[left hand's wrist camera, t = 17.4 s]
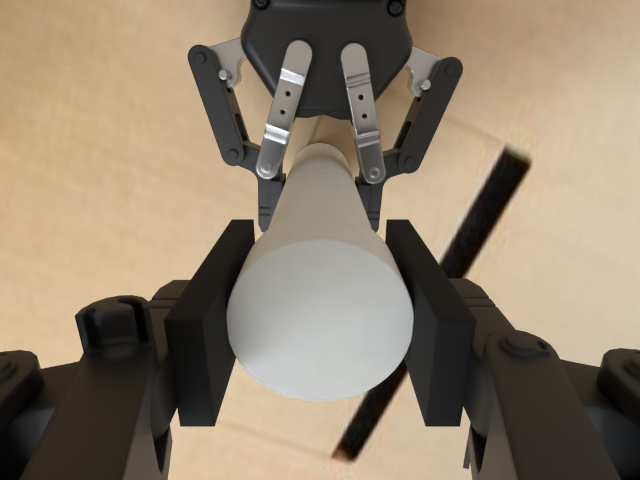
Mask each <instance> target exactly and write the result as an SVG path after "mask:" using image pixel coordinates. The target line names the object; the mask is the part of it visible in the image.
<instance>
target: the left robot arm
mask: <svg viewBox="0 0 640 480" xmlns="http://www.w3.org/2000/svg"><path fill="white" fill-rule="evenodd" d="M254 244H255V236H254V220H231V222H230V223H229V225H228V226H227V228H226V229H225V231H224V232H223V233H222V235H221V236H220V238H219V239H218V241H217V242H216V244H215V245H214V247H213V248H212V250H211V251H210V253H209V254H208V256H207V257H206V258H205V260H204V261H203V263H202V264H201V266H200V267H199V269H198V270H197V272H196V273H195V275H194V276H193V278H192V279H191V280H173V281H171V282H170V283H168V284H166V285H165V286H163V287H161V288H160V289H159V290H158V291H157V292H156V294H155V295H154V296H153V297H152V300H150V301H149V302H148V301H147V300H146V299H144V298H143V297H138V296H134V295H125V296H115V297H110V298H105V299H102V300H100V301H97V302H94V303H92V304H90V305H88V306H86V307H84V308H83V309H81V310H80V311H79V312H78V313H77V314H76V315H75V319H76V323H77V327H78V331H79V335H80V339H81V343H82V347H83V351H84V353H83V355H82V357H81V359H80V361H78V362H74V363H70V364H64V365H59V366H54V367H49V368H44V369H41V368H40V365H39V361H38V358H37V356H36V355H35V354H33V353H32V352H30V351H23V350H16V351H5V352H0V480H168V472H169V464H170V456H171V448H172V435H171V429H170V422H171V420H172V418H173V416H174V413H175V411H176V409H177V408H178V414H179V421H180V426H215V423H216V420H217V417H218V414H219V411H220V407H221V404H222V401H223V398H224V395H225V391H226V388H227V385H228V382H229V379H230V375H231V372H232V369H233V366H234V363H235V360H236V356H235V354H234V352H233V350H232V348H231V345H230V343H229V338H228V328H227V317H226V310H227V305H228V300H229V298H230V295H231V292H232V290H233V287H234V285H235V283H236V281H237V278H238V276H239V274H240V271H241V269H242V267H243V265H244V262H245V260H246V258H247V256H248V254H249V252H250V250H251V248H252V246H253V245H254ZM385 244H386V245H387V246H388V248H389V250H390V252H391V254H392V256H393V258H394V260H395V262H396V265H397V267H398V269H399V272H400V274H401V276H402V278H403V281H404V283H405V285H406V287H407V290H408V292H409V295H410V298H411V301H412V305H413V310H414V320H413V331H412V339H411V343H410V345H409V348H408V350H407V352H406V354H405V356H404V359H405V362H406V365H407V368H408V371H409V375H410V378H411V381H412V384H413V387H414V391H415V394H416V397H417V400H418V403H419V407H420V410H421V413H422V416H423V419H424V422H425V426H460V422H461V416H462V410H463V406H464V408H465V411H466V413H467V415H468V417H469V420H470V422H471V423H470V429H469V435H468V441H467V447H466V453H465V458H464V465H463V468H467V469H469V464H470V463H471V471H472V479H473V480H640V350H635V349H634V350H632V349H623V348H619V349H612V350H609V351H608V352H606V353H605V354H604V356H603V359H602V362H601V366H600V367H596V366H590V365H585V364H580V363H575V362H570V361H565V360H561V359H560V358H559V356H558V354H557V353H556V351H555V350H554V349H553V348H552V346H551V345H550V344H549V343H547V342H546V341H544V340H543V339H541V338H540V337H537V336H535V335H532V334H530V333H527V332H524V331H519V330H515V328H514V327H513V326H512V325H511V324H510V322H509V321H508V320H507V319H506V317H505V316H504V315H503V314H502V312H501V311H500V310H499V309H498V308H497V307H495V304H494V303H493V301H492V300H491V299H489V297H488V295H487V294H486V293H485V292H484V290H483V289H482V288H481V287H480V286H478V285H476V284H475V283H473V282H471V281H470V280H468V279H448V277H447V276H446V274H445V273H444V271H443V270H442V268H441V267H440V265H439V264H438V262H437V261H436V260H435V258H434V257H433V255H432V254H431V252H430V251H429V249H428V248H427V246H426V245H425V243H424V242H423V240H422V239H421V238H420V236H419V235H418V233H417V232H416V230H415V229H414V227H413V226H412V224H411V223H410V221H409V220H387V224H386V240H385Z"/></svg>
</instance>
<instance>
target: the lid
mask: <svg viewBox="0 0 640 480" xmlns="http://www.w3.org/2000/svg"><path fill="white" fill-rule="evenodd" d="M226 317H227V328H228V338H229V343H230V345H231V348H232V350H233V352H234V354H235V356H236V358H237V359H238V361H239V362H240V364H241V365H242V366H243V368H244V369H245V370H246V371H247V372H248V373H249V374H250V375H251V376H252V377H253V378H254V379H256V380H257V381H258V382H260V383H261V384H262V385H264V386H265V387H267V388H269V389H271V390H272V391H275V392H277V393H279V394H281V395H284V396H287V397H291V398H294V399H299V400H304V401H314V402H326V401H335V400H341V399H346V398H350V397H353V396H356V395H359V394H361V393H363V392H365V391H367V390H370V389H371V388H373V387H374V386H376V385H378V384H379V383H381V382H382V381H383V380H384V379H386V378H387V377H388V376H389V375H390V374H391V373H392V372H393V371H394V370H395V369H396V368H397V366H398V365H399V364H400V362H401V361H402V359H403V358H404V356H405V354H406V352H407V350H408V348H409V345H410V343H411V339H412V331H413V320H414V310H413V305H412V301H411V298H410V295H409V292H408V290H407V287H406V285H405V283H404V281H403V278H402V276H401V274H400V272H399V269H398V267H397V265H396V262H395V260H394V258H393V256H392V254H391V252H390V250H389V248H388V246H387V245H386V244H385V242H384V241H383V240H382V239H381V237H379V236H378V235H377V234H376V233H375V232H374V231H373V230H372V229H370V228H369V227H368V226H366V225H365V224H363V223H361V222H359V221H358V220H356V219H353V218H351V217H348V216H345V215H341V214H337V213H330V212H310V213H303V214H299V215H295V216H292V217H289V218H287V219H284V220H282V221H280V222H279V223H277V224H275V225H273V226H272V227H271V228H270V229H268V230H267V231H266V232H265V233H264V234H263V235H262V236H261V237H260V238H259V239H258V240H257V241H256V242H255V244H254V245H253V246H252V248H251V250H250V252H249V254H248V256H247V258H246V260H245V262H244V265H243V267H242V269H241V271H240V274H239V276H238V278H237V281H236V283H235V285H234V287H233V290H232V292H231V295H230V298H229V300H228V305H227V310H226Z"/></svg>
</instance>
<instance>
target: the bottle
mask: <svg viewBox="0 0 640 480" xmlns="http://www.w3.org/2000/svg"><path fill="white" fill-rule="evenodd" d="M310 212H330V213H337V214H341V215H345V216H348V217H351V218H353V219H356V220H358V221H359V222H361V223H363V224H365V225H366V226H368V227H369V228H370V229H372V228H371V225H370V223H369V220H368V217H367V215H366V212H365V209H364V207H363V204H362V201H361V199H360V196H359V193H358V191H357V188H356V185H355V183H354V180H353V177H352V174H351V172H350V169H349V166H348V164H347V161H346V159H345V157H344V155H343V154H342V153H341V152H340V151H339V150H338V149H337V148H335V147H334V146H332V145H329V144H325V143H315V144H311V145H308V146H306V147H305V148H303V149H302V150H301V151H300V152H299V153H298V154H297V155H296V157H295V159H294V161H293V164H292V166H291V169H290V172H289V174H288V177H287V180H286V182H285V185H284V188H283V190H282V193H281V196H280V198H279V201H278V204H277V207H276V209H275V212H274V215H273V217H272V220H271V223H270V225H269V228H268V229H270V228H271V227H272V226H273V225H275V224H277V223H279V222H280V221H282V220H284V219H287V218H289V217H292V216H295V215H299V214H303V213H310Z"/></svg>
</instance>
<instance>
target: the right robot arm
mask: <svg viewBox="0 0 640 480" xmlns="http://www.w3.org/2000/svg"><path fill="white" fill-rule="evenodd" d="M406 2H407V0H251V5H250V11H249V15H248V18H247V20H246V22H245V24H244V26H243V28H242V31H241V37H240V38H236V39H233V40H230V41H227V42H223V43H220V44H217V45H213V46H210V47H208V46H203V45H195V46H193V47H192V48H191V49H190V50H189V53H188V61H189V64H190V67H191V70H192V73H193V76H194V78H195V81H196V84H197V87H198V90H199V93H200V95H201V98H202V101H203V104H204V107H205V110H206V113H207V115H208V118H209V121H210V124H211V127H212V130H213V133H214V135H215V138H216V141H217V144H218V147H219V150H220V152H221V155H222V158H223V160H224V161H225V162H226V163H227V164H228V165H231V166H237V165H238V166H241V167H243V168H245V169H248V170H250V171H252V172H253V173H254V174H255V175H256V177H257V179H258V206H259V208H258V213H259V215H258V221H259V226H260V228H261V231H262V232H266V231H267V230H268V228H269V225H270V223H271V220H272V217H273V215H274V212H275V209H276V207H277V204H278V201H279V198H280V196H281V193H282V190H283V188H284V185H285V182H286V174H285V173H282V165H283V158H284V155H285V152H286V149H287V145H288V142H289V139H290V136H291V133H292V130H293V127H294V123H295V120H296V117H303V118H309V117H313V116H318V115H322V114H324V115H327V116H330V117H333V118H336V119H344V120H349V122H350V127H351V132H352V136H353V139H354V144H355V149H356V154H357V159H358V164H359V168H360V171H359V177H356V176H355V185H356V188H357V191H358V193H359V196H360V199H361V201H362V204H363V207H364V209H365V212H366V215H367V217H368V220H369V223H370V225H371V228H372V230H373V231H374V232H375V233H376V232H377V230H378V228H379V218H380V208H381V198H382V189H383V185H384V183H385V182H386V181H387V179H389V178H390V177H393V176H396V175H399V174H402V173H413V172H415V171H416V170H417V169H418V168H419V166H420V164H421V162H422V160H423V158H424V156H425V153H426V151H427V149H428V147H429V145H430V142H431V140H432V138H433V136H434V134H435V132H436V129H437V127H438V125H439V123H440V121H441V118H442V116H443V114H444V112H445V110H446V107H447V105H448V103H449V101H450V99H451V97H452V94H453V92H454V90H455V88H456V86H457V83H458V81H459V79H460V77H461V75H462V71H463V66H462V63H461V61H460V60H459V59H457V58H455V57H448V58H444V59H442V58H439V57H437V56H434V55H432V54H430V53H427V52H425V51H423V50H420V49H418V48H416V47H413V46H412V38H411V35H410V32H409V30H408V26H407V22H406ZM246 59H248V60H249V62H250V63H251V65H252V66H253V68H254V69H255V71H256V72H257V74H258V75H259V77H260V79H261V80H262V82H263V83H264V85H265V86H266V88H267V89H268V91H269V92H270V94H271V95H272V97H273V98H274V99H273V102H272V106H271V110H270V113H269V117H268V120H267V124H266V128H265V134H264V138H263V141H262V145H261V146H259V145H257V144H254V143H252V142H250V140H249V137H248V134H247V131H246V127H245V124H244V121H243V118H242V115H241V112H240V109H239V106H238V103H237V99H236V96H235V93H234V90H233V88H234V87H236V86H237V85H238V84H239V83H240V81H241V65H242V63H243V62H244V61H245V60H246ZM403 67H404V68H406V70H407V71H408V73H409V81H408V91H409V93H410V94H411V95H412V96H414V100H413V102H412V104H411V107H410V109H409V111H408V114H407V116H406V118H405V121H404V123H403V125H402V128H401V130H400V132H399V135H398V137H397V139H396V142H395V144H394V146H393V149H390V150H387V151H383V152H382V148H381V142H380V130H379V125H378V119H377V114H376V108H375V102H376V100H377V99H378V98H379V97H380V95H381V94H382V93H383V92H384V90H385V89H386V88H387V87H388V86H389V84H390V83H391V82H392V81H393V79H394V78H395V77H396V76H397V74H398V73H399V72H400V71H401V69H402V68H403Z"/></svg>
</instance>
